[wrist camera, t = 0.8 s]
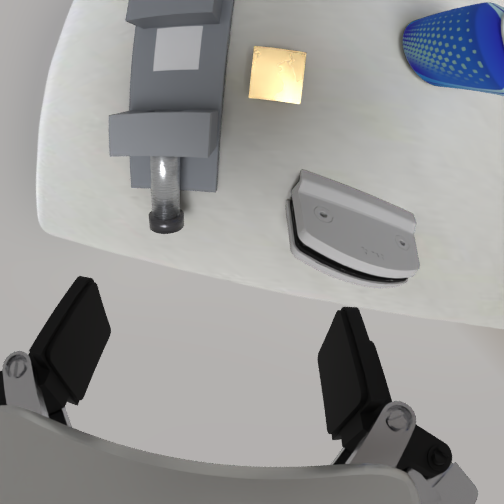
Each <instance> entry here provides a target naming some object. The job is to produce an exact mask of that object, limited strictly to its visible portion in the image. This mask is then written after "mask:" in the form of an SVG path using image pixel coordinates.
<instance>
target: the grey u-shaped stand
mask: <svg viewBox="0 0 504 504" xmlns="http://www.w3.org/2000/svg"><path fill="white" fill-rule="evenodd" d="M233 3H234V0H129V3H128V9H127V15H126V21H127V22H129V23H131V24H134V25H136V28H135V36H134V45H133V55H132V66H131V81H130V106H129V111H127V112H123V113H118V114H114V115H109V149H110V156H130V174H131V188H151V172H150V156H172V157H180V190H190V191H205V192H216V190H217V176H218V159H219V144H220V130H221V117H222V105H223V93H224V83H225V72H226V62H227V53H228V44H229V35H230V27H231V19H232V11H233Z"/></svg>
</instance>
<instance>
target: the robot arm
mask: <svg viewBox="0 0 504 504" xmlns="http://www.w3.org/2000/svg"><path fill="white" fill-rule="evenodd" d="M110 333H111V328H110V325H109V322H108V319H107V316H106V313H105V310H104V307H103V303H102V300H101V297H100V294H99V290H98V286H97V284H96V283H95V282H94V280H93V279H92V278H87V277H82V276H79V277H78V278H77V279H76V280H75V282H74V283H73V284H72V286H71V287H70V288H69V290H68V291H67V293H66V294H65V295H64V297H63V298H62V300H61V301H60V303H59V304H58V306H57V307H56V308H55V310H54V312H53V313H52V314H51V316H50V318H49V319H48V321H47V322H46V324H45V325H44V327H43V329H42V330H41V332H40V333H39V335H38V336H37V338H36V340H35V342H34V343H33V345H32V347H31V349H30V350H29V351H30V353H29V355H27V354H26V353H25V352H22V351H17V352H14V353H12V354H10V355H9V356H8V357H7V358H6V360H5V361H4V364H3V370H2V371H0V504H475V502H476V500H477V496H478V491H477V488H476V486H475V485H474V484H473V483H472V481H471V480H470V479H469V478H468V476H466V474H465V473H464V472H463V471H462V469H461V468H460V467H459V466H458V464H457V463H456V462H455V463H452V462H451V461H452V453H451V450H450V448H449V446H448V445H447V444H445V443H444V442H442V441H441V440H439V439H438V438H436V437H435V436H433V435H431V434H430V433H428V432H427V431H425V430H424V429H422V428H420V427H419V426H417V425H416V416H415V413H414V411H413V410H412V408H411V407H410V406H408V405H407V404H406V403H403V402H400V401H394V402H392V400H391V396H390V393H389V389H388V386H387V383H386V379H385V376H384V373H383V369H382V367H381V363H380V360H379V357H378V354H377V351H376V348H375V345H374V343H373V342H372V341H370V340H369V337H368V335H367V331H366V328H365V325H364V322H363V320H362V317H361V314H360V311H359V309H358V308H357V307H343V308H342V309H341V310H338V311H337V312H336V315H335V317H334V319H333V322H332V324H331V327H330V329H329V331H328V333H327V335H326V338H325V340H324V342H323V344H322V347H321V349H320V351H319V353H318V366H319V372H320V379H321V386H322V393H323V400H324V408H325V416H326V424H327V431H328V433H329V434H332V440H339V439H342V446H343V448H342V450H341V451H340V453H339V454H338V455H337V457H336V458H335V459H334V461H333V462H332V463H331V465H326V466H325V465H324V466H307V467H251V466H250V467H249V466H235V465H223V464H213V463H205V462H198V461H192V460H185V459H180V458H174V457H169V456H164V455H159V454H154V453H150V452H146V451H142V450H138V449H134V448H131V447H127V446H124V445H120V444H116V443H113V442H110V441H107V440H104V439H101V438H98V437H95V436H93V435H90V434H87V433H84V432H82V431H79V430H77V429H74V428H72V426H71V423H70V420H69V417H68V415H67V412H66V409H65V405H66V402H70V403H72V404H75V405H78V403H79V400H82V399H83V397H84V395H85V393H86V390H87V388H88V385H89V383H90V380H91V378H92V375H93V373H94V371H95V368H96V366H97V364H98V361H99V359H100V357H101V354H102V352H103V350H104V348H105V345H106V343H107V341H108V339H109V336H110Z"/></svg>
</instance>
